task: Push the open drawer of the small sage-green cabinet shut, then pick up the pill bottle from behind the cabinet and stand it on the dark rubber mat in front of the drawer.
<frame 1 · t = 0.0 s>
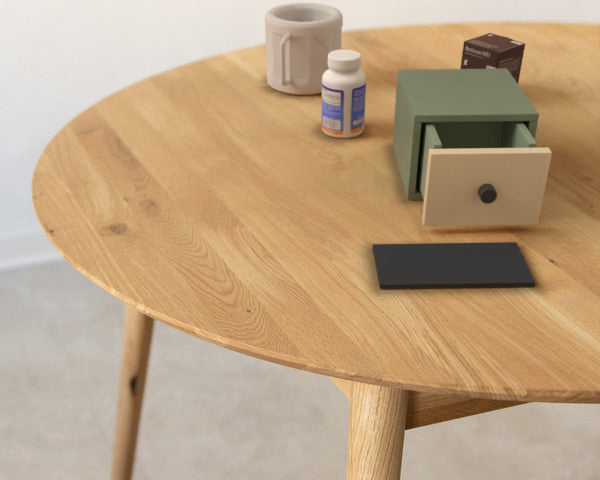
pill bottle: (342, 132, 99), on the table
box: (486, 95, 109), on the table
drawer: (474, 165, 80), point 5 cm above the table, slide at 6.0 cm
mat: (450, 266, 73), on the table
cabinet: (454, 171, 89), on the table
mug: (300, 87, 112), on the table
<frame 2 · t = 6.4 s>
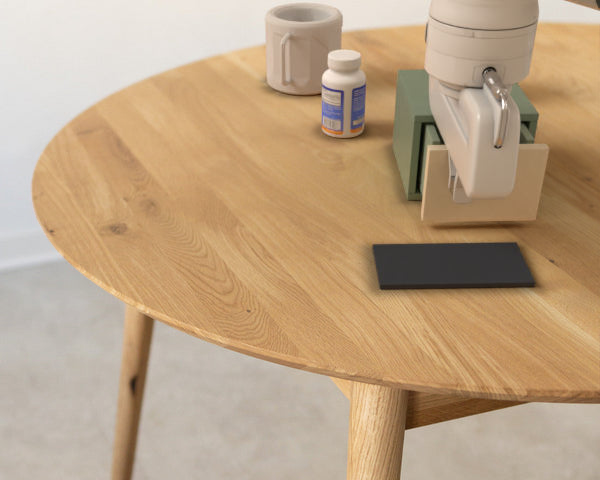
hand: (459, 196, 74), 5 cm above the table, tool pointing down, fingers closed
drawer: (472, 161, 81), point 5 cm above the table, slide at 5.1 cm, touching gripper
everything else where it was.
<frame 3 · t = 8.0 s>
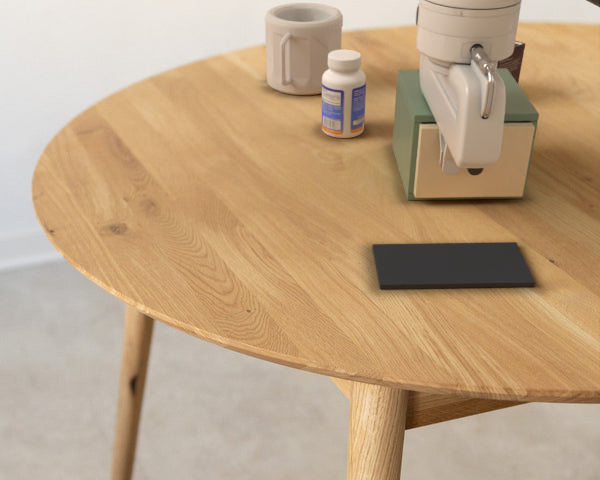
hand: (449, 170, 78), 5 cm above the table, tool pointing down, fingers closed
drawer: (462, 140, 85), point 5 cm above the table, slide at 0.0 cm, touching cabinet, gripper
everything else where it was.
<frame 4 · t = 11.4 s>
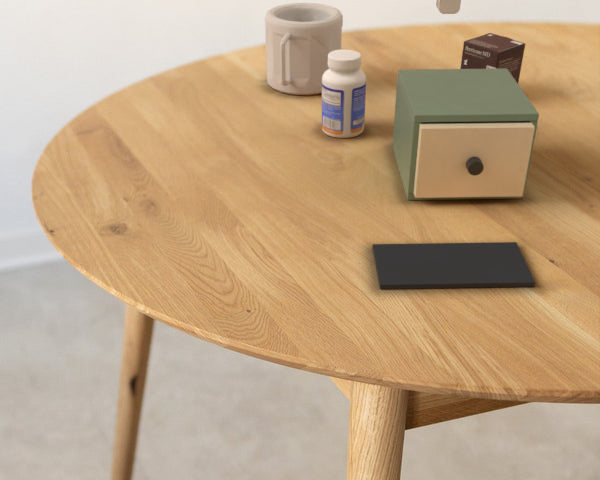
drawer: (462, 140, 85), point 5 cm above the table, slide at 0.0 cm, touching cabinet
everything else where it was.
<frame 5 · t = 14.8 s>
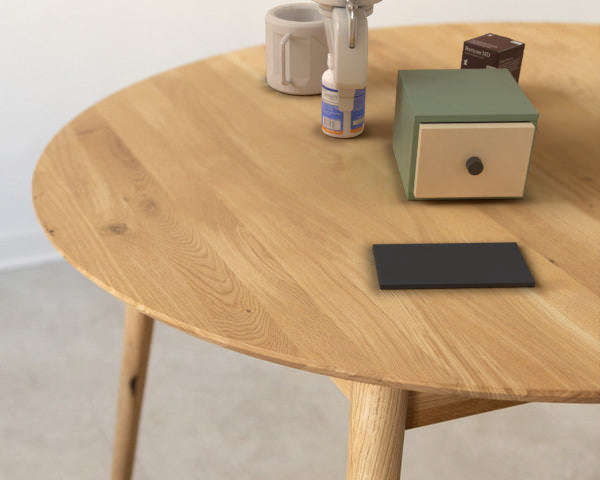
hand: (343, 99, 97), 4 cm above the table, tool pointing down, fingers closed on pill bottle, 5 cm apart
pill bottle: (342, 132, 99), on the table, touching gripper
everything else where it was.
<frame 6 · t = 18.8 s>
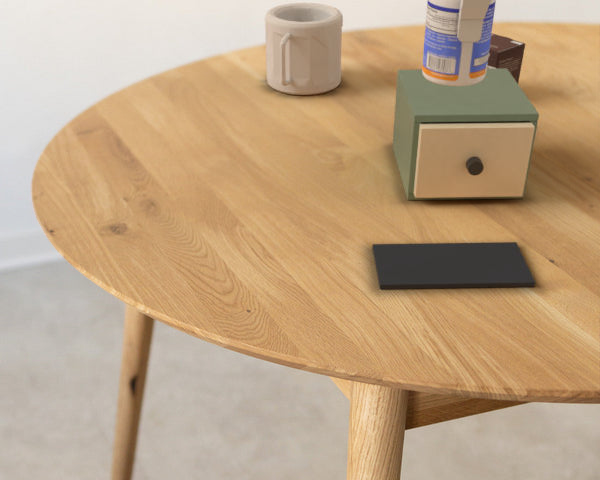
hand: (459, 27, 64), 21 cm above the table, tool pointing down, fingers closed on pill bottle, 5 cm apart
pill bottle: (452, 78, 66), point 17 cm above the table, touching gripper
everything else where it was.
when the fingers open (5 cm above the table, at t = 23.1 s): pill bottle stays where it is, resting on mat.
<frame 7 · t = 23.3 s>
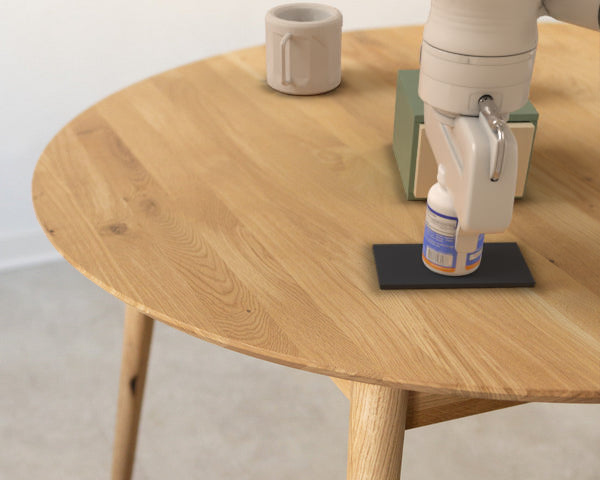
hand: (455, 225, 71), 4 cm above the table, tool pointing down, fingers open, 6 cm apart
pill bottle: (450, 264, 73), resting on mat
everything else where it was.
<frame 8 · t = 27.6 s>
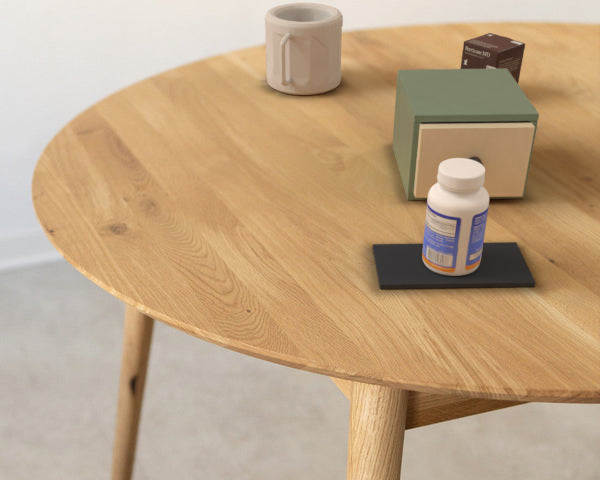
nothing on the table moved.
at the end: drawer slide at 0.0 cm; pill bottle inside the target area on the mat (0.1 cm from its centre), point 0.3 cm above the mat's base; pill bottle tilted 0° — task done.
